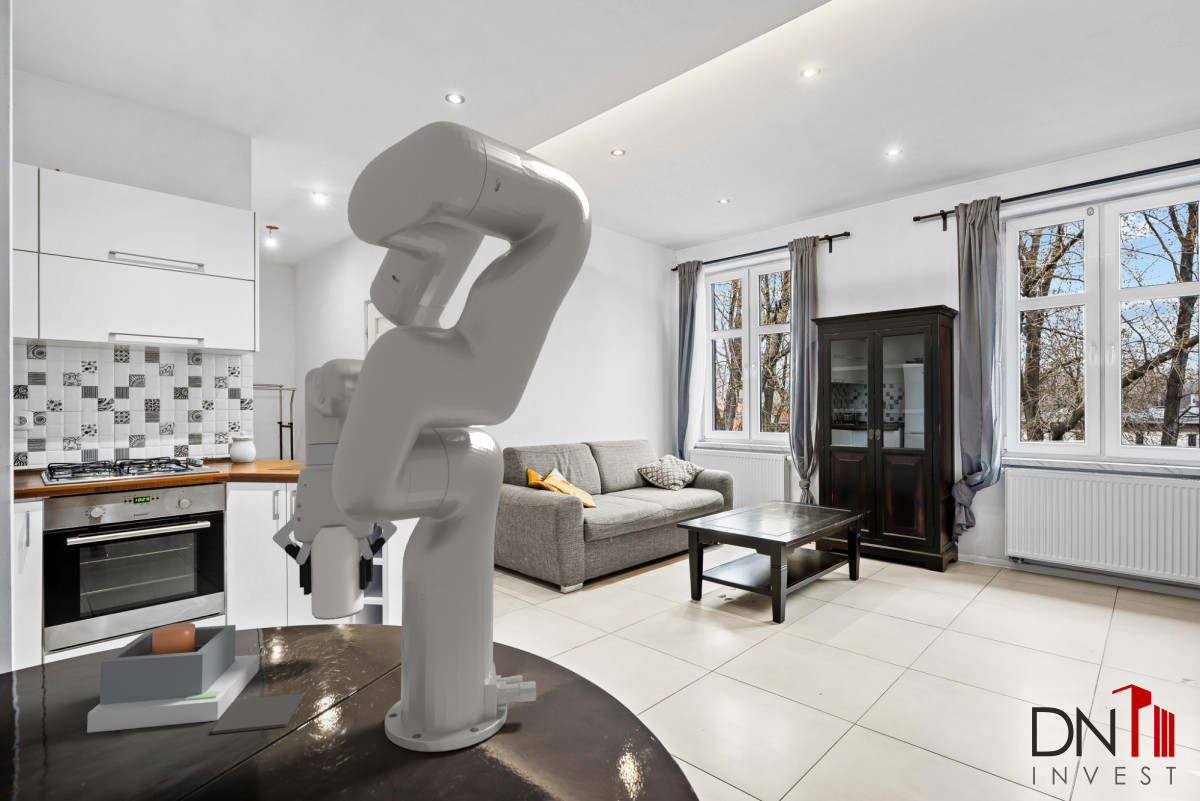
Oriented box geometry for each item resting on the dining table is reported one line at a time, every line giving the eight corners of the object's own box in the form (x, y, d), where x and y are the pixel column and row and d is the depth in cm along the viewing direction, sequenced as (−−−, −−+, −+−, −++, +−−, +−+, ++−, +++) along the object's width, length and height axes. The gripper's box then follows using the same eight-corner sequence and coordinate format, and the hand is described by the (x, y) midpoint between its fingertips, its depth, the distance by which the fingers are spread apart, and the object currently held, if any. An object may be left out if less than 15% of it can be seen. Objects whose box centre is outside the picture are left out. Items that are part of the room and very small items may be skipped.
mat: (303, 696, 70) (303, 693, 70) (285, 726, 63) (285, 723, 63) (236, 702, 68) (236, 699, 68) (211, 734, 61) (211, 731, 61)
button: (200, 647, 72) (201, 621, 72) (185, 660, 68) (185, 633, 68) (162, 649, 71) (163, 624, 71) (144, 663, 67) (145, 636, 67)
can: (303, 615, 81) (302, 525, 82) (349, 604, 86) (348, 519, 87) (325, 623, 77) (324, 528, 77) (372, 611, 82) (371, 521, 82)
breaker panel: (258, 670, 77) (259, 619, 77) (217, 720, 64) (218, 658, 64) (152, 678, 74) (153, 625, 75) (87, 732, 62) (88, 668, 62)
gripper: (404, 454, 88) (406, 578, 87) (275, 459, 84) (276, 589, 83) (398, 454, 81) (401, 590, 80) (257, 461, 77) (257, 603, 76)
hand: (337, 588), depth 81 cm, fingers closed on can, 6 cm apart
